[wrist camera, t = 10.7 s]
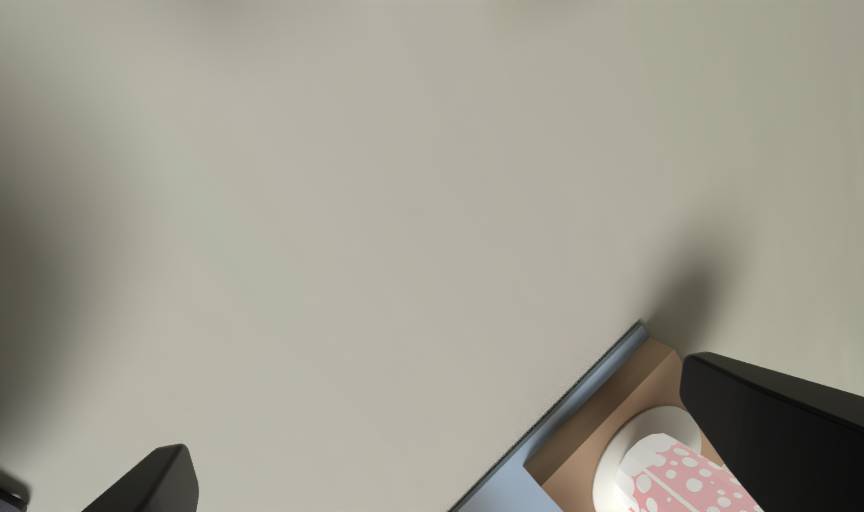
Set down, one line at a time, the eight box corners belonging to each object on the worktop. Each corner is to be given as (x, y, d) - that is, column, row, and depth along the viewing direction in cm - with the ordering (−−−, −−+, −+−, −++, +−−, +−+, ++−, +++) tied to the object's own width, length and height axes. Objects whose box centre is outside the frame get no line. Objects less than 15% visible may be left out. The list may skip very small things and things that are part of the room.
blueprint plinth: (554, 641, 30) (576, 677, 28) (426, 536, 24) (442, 571, 22) (720, 458, 32) (752, 479, 30) (638, 323, 27) (670, 338, 25)
